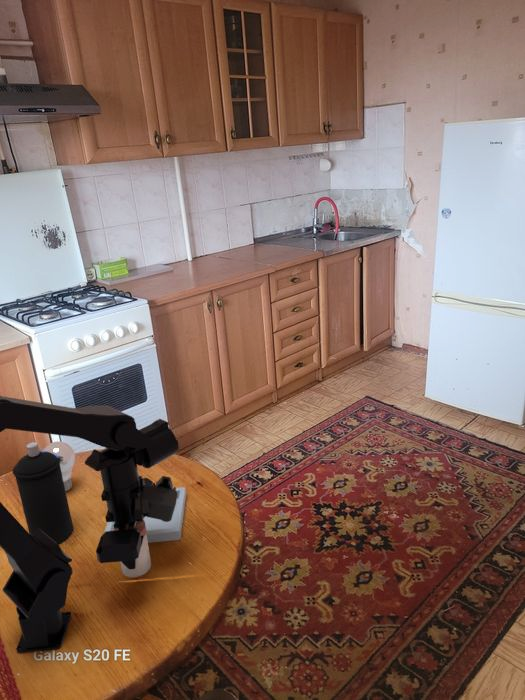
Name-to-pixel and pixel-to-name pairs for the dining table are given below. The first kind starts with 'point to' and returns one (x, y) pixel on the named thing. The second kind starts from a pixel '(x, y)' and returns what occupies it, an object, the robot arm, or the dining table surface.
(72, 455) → the light bulb
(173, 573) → the dining table surface
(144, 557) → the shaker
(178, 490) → the dish
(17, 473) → the aerosol can
